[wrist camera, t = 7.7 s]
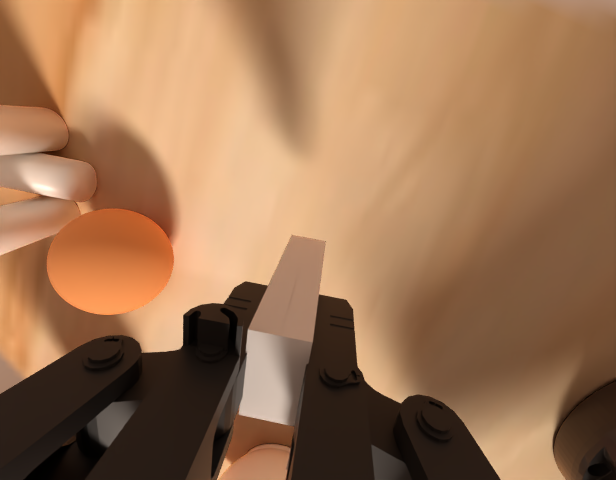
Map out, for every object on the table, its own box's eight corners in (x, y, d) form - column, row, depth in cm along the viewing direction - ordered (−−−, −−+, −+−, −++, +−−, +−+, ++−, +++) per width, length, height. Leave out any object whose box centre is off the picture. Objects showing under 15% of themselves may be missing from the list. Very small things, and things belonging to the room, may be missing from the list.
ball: (67, 224, 19) (148, 181, 18) (129, 296, 21) (202, 258, 21) (-19, 264, 13) (95, 204, 13) (77, 356, 15) (177, 305, 15)
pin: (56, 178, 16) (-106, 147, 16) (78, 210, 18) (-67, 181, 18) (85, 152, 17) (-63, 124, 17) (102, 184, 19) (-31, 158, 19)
